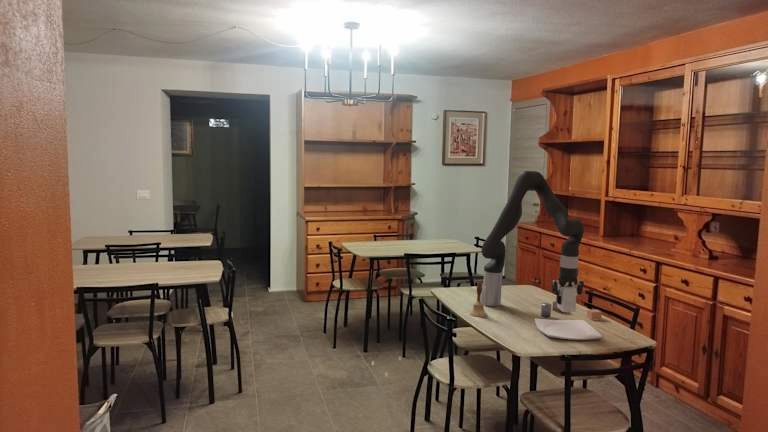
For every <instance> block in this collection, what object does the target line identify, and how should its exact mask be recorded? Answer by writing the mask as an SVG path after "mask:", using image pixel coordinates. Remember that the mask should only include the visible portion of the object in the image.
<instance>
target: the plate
mask: <svg viewBox="0 0 768 432" xmlns="http://www.w3.org/2000/svg"><path fill="white" fill-rule="evenodd" d="M534 321H535V326H536V327H537V329H538V330H539V331H540V332H541V333H542V334H544V335H546V336H548V337H549V338H555V339H561V340H566V339H568V340H567V341H586V340H587V341H590V340H599V339H601V338H603V335H601V333H599V332H598V331H597V330H596V329H595V328H593V327H592V326H591V325H590V324H588V323H587V322H586V321H585V320H583V319H581V320H579V319H577V320H575V319H573V320H565V319H563V320H562V319H548V318H545V319H544V318H534Z"/></svg>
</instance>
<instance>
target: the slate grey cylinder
mask: <svg viewBox="0 0 768 432" xmlns="http://www.w3.org/2000/svg"><path fill="white" fill-rule="evenodd" d="M551 315H552V304H551V303H548V302H542V303H541V312H540V317H541V318H543V319H544V318H545V319H548V318H549V319H550V318H551V317H552V316H551Z"/></svg>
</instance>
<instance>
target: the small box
mask: <svg viewBox="0 0 768 432" xmlns="http://www.w3.org/2000/svg"><path fill="white" fill-rule="evenodd" d="M559 286H560V284H559V283H558V285H557V289H558V288H559ZM575 287H576V286H575ZM575 287H561V289H562V288H563V291H562V295H561V296H562V300H561V304H558V303H557V307H558V308H559V309H560V310H561V311H562V312H563V313H576V312H577V311H576V310H577V302H576V295H577V287H576V288H575Z"/></svg>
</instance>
